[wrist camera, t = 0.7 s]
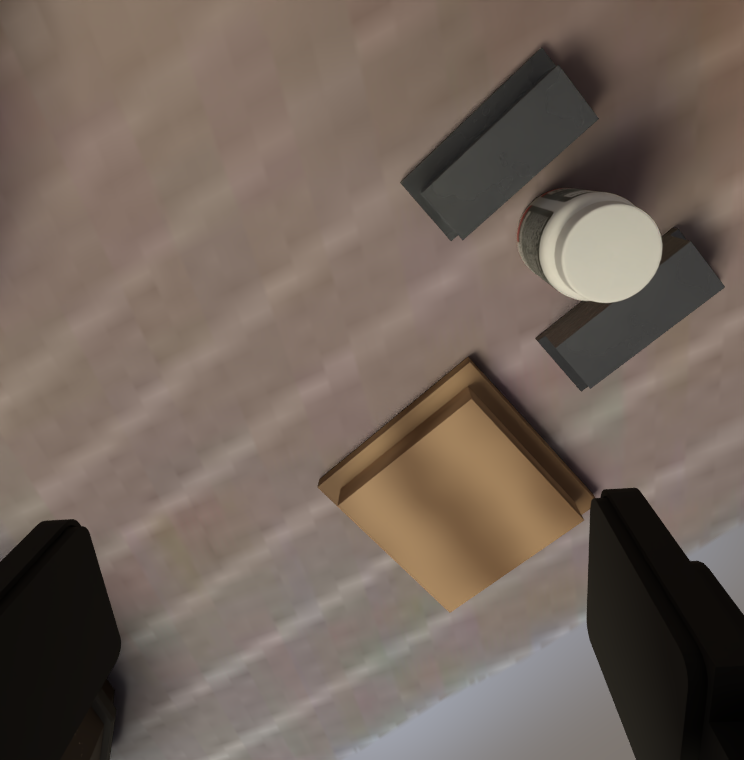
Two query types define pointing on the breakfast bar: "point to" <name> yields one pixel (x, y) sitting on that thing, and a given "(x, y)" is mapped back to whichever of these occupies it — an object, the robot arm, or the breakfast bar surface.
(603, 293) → the pill bottle
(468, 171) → the clamp jaws
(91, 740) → the wooden barrel
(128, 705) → the breakfast bar surface
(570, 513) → the tan square pedestal
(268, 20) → the breakfast bar surface
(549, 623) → the breakfast bar surface
